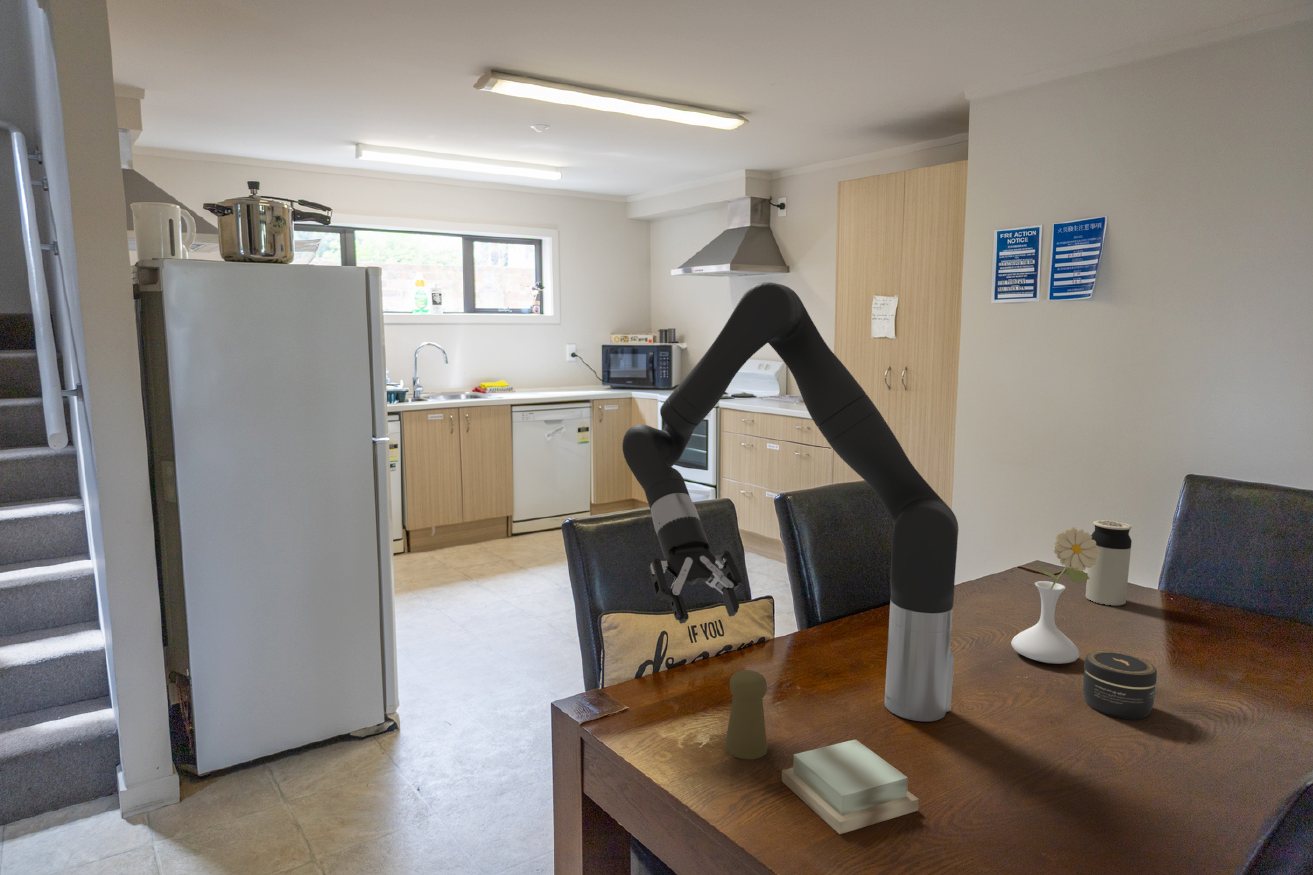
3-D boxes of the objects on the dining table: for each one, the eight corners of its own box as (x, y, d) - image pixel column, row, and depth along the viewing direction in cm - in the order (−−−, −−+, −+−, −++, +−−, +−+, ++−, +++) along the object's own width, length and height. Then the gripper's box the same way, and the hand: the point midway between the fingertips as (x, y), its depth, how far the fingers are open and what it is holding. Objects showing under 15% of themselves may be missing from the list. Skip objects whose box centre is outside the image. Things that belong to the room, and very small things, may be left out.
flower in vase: (1011, 663, 140) (1022, 529, 137) (1009, 641, 151) (1018, 516, 148) (1093, 676, 135) (1106, 537, 132) (1084, 652, 146) (1096, 523, 143)
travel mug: (1093, 605, 173) (1100, 526, 171) (1080, 593, 181) (1086, 518, 179) (1131, 607, 172) (1139, 529, 170) (1116, 596, 180) (1123, 520, 177)
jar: (1092, 687, 131) (1096, 644, 130) (1160, 707, 124) (1165, 662, 123) (1072, 705, 124) (1076, 660, 123) (1143, 728, 117) (1148, 680, 116)
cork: (721, 737, 112) (723, 665, 110) (762, 736, 112) (765, 664, 111) (728, 759, 106) (731, 683, 104) (771, 758, 106) (775, 682, 105)
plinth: (855, 761, 106) (856, 734, 105) (918, 810, 95) (920, 780, 95) (781, 780, 101) (782, 752, 100) (839, 834, 90) (841, 802, 90)
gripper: (645, 518, 121) (675, 612, 112) (724, 511, 127) (759, 600, 118) (632, 542, 126) (659, 634, 117) (708, 535, 132) (740, 622, 123)
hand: (709, 617), depth 118 cm, fingers open, 8 cm apart
